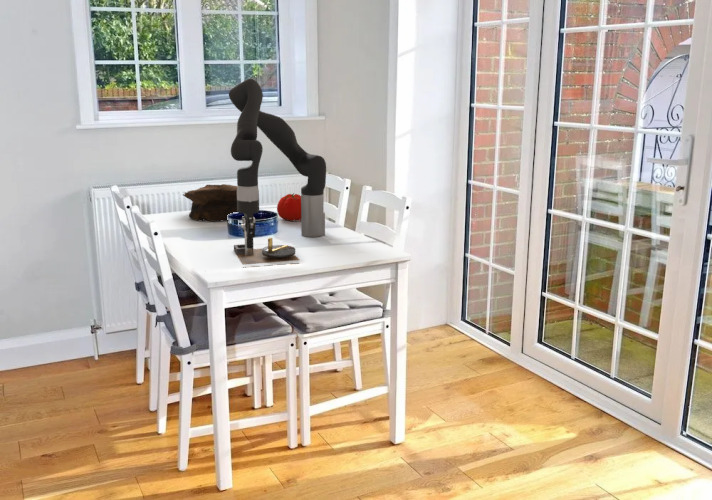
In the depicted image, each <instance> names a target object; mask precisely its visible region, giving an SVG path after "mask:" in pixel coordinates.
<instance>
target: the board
mask: <svg viewBox="0 0 712 500" xmlns="http://www.w3.org/2000/svg"><path fill="white" fill-rule="evenodd" d="M233 252H234V254H235V255H236V257H237V258H238V259H239V261H240V263H241V264H242V265H251V264H252V265H253V264H268V263H278V262H279V263H280V264H278V266H283V265H284V266H285V263H284V264H282V263H281V262H293V261H295V262H296V261H300V258H299V257H297V255H296V254H295V255H293V256H289V257H281V258H274V257H267V256H264V255H262V248H253V255H252V256H246V255H245V243H244V244H243V243H242V244H233ZM295 262H294V263H291V265H294V264H295V265H296V264H297V265H298V262H296V263H295ZM268 266H269V267H270V266H272V264H269V265H265V267H268ZM244 267H245V266H243V267H242V268H244ZM256 267H259V265H258V266H257V265H253V266H252V268H256Z"/></svg>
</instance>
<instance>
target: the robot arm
mask: <svg viewBox="0 0 712 500" xmlns="http://www.w3.org/2000/svg"><path fill="white" fill-rule="evenodd" d="M263 96H264V93H263V90H262V87H261V85H260V84H259V83H258V82H257V81H256V80H255V79H253V78H247V79H246V80H243V81H242V82H240V83H238V84H237V85H236V86H233V87H232V88H231V89H230V90H229V92H228V98H229V100H230V102H231V103H232V104H233V106H235V108H236V109H237V110H238V111H239V112H240V114H239V116H238V119H237V123H236V135H235V138H234V139H233V142H232V143H231V147H230V155H231V157H232V159H233V160H235V161H236V162H251V163H250V165H248V166H246V167H241V168H238V169H237V171H236V180H237V181H236V183H237V184H236V186H237V211H238V212H239V213H243V214H244V216H242V217H241V224H244V228H242V232H243V235H244V236H245V231H246V238H247V248H248V249H250V248H253V249H254V238H255V237H256V227H257V223H256V218H255V217H254V214H256V213H259V212H260V189H259V167H260V162H261V158H262V154H263V145H262V143H261V142H260V141H259V140H257V139H258V129H259V130H260V131H261V132H262V133H263V135H265V136H266V138H267V139H269V141H270V142H271V143H272V144H273V145H274V146H275V147H277V149H278V150H279V151H280V152H281V153H282V154H283V155H285V157H286V158H287V159H288V160H289V161H290V163H291V164H292V165H293V167H294V168H295V169H296V171H297V172H298V173H299V174H300V175H301V176H303V177H307V182H306V184H305V185H302V186H301V188H300V196H301V220H300V223H301V224H300V225H301V226H300V228H301V229H300V230H301V231H300V232H301V233H300V234H301V236H303V237H307V238H314V237H315V238H317V237H323V236H326V213H325V210H324V209H325V208H324V190H325V188H326V181H327V163H326V161H325V158H324V157H323V156H322V155H318V154H310V153H308V152H307V151H306V150H304V149H303V148H302V147H301V146H300V144H299V143H298V140H297V137H296V134H295V131H294V130H293V128H292V127H291V126H290V124H288V123H287V122H286V121H285V120H284V119H283V118H282V117H280V116H277V115H275V114H271V113H268V112H265V111H262V110H261V106H262V102H263V99H264V98H263ZM255 226H256V227H255ZM247 228H248V229H247ZM250 232H252V234H249V233H250Z"/></svg>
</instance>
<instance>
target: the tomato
mask: <svg viewBox="0 0 712 500" xmlns="http://www.w3.org/2000/svg"><path fill="white" fill-rule="evenodd" d="M276 211H277V215H278V216H279V218H280V219H282V220H284V219H285V220H284V221H289V220H290V222H293V220H294V221H296V220H299V221H301V194H298V193H294V192H293V193H292V194H291V193H287V194H286V195H284V196H282V197H280V199H279V200H278V202H277V205H276Z"/></svg>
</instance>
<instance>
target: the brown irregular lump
mask: <svg viewBox="0 0 712 500" xmlns="http://www.w3.org/2000/svg"><path fill="white" fill-rule="evenodd" d="M181 196H183V197H185V198H186V199H188V200H190V201H191V202H192V203H191V207H190V212H189V214H188V216H189V218H190V219H191V218H192V219H191V220H196V221H199V220H202V221H205V220H206V221H209V222H222V221H221V220H227V215H228V214H230V213H233V212H238V211H237V185H232V184H226V183H225V184H206V185H205V186H203V187H199V188H198V189H197V188H196V189H194V190H189V191H187V192H184V194H181ZM203 219H204V220H203ZM227 221H228V220H227Z"/></svg>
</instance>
